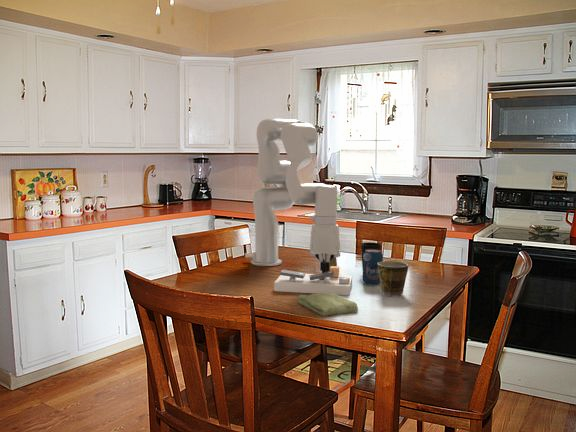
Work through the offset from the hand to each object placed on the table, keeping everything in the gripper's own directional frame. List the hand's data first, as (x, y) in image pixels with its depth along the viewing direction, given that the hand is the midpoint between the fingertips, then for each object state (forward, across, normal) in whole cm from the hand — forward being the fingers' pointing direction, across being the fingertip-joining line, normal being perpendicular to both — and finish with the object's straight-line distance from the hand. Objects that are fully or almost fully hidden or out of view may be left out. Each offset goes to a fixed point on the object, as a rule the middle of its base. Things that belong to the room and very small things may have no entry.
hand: (324, 272), depth 192 cm
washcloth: (+5, +4, -27) cm, 27 cm away
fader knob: (+1, +3, 0) cm, 4 cm away
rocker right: (-1, 0, -8) cm, 8 cm away
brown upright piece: (+5, 0, +16) cm, 16 cm away
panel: (+4, -3, -4) cm, 7 cm away
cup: (+5, +15, +19) cm, 25 cm away
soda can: (+5, +16, +6) cm, 18 cm away
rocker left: (-1, -10, -8) cm, 13 cm away
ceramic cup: (+5, +22, -8) cm, 24 cm away
